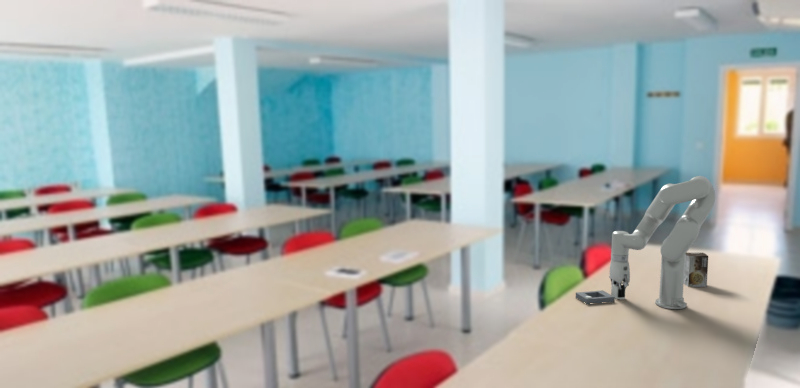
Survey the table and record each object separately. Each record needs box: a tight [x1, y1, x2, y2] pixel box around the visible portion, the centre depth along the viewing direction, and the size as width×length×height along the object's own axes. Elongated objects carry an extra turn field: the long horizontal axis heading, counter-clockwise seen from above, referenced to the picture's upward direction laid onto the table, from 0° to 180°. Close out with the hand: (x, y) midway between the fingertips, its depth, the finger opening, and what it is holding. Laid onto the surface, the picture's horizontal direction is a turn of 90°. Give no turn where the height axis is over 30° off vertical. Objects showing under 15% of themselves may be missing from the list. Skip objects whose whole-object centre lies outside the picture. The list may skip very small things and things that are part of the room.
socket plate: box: [575, 289, 616, 305], centre depth 265 cm, size 10×14×3 cm
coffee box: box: [684, 252, 709, 288], centre depth 284 cm, size 9×6×16 cm
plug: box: [610, 282, 626, 300], centre depth 267 cm, size 4×4×8 cm
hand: (618, 295), depth 267 cm, fingers closed on plug, 4 cm apart
